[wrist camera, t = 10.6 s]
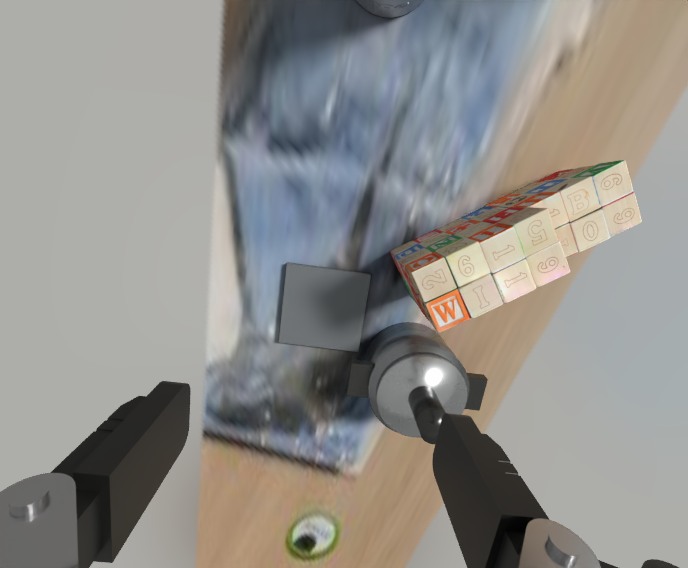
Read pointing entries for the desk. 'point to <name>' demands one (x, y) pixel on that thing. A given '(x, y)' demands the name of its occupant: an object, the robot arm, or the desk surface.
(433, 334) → the pot
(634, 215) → the stack of blocks
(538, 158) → the desk surface
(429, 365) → the lid
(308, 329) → the plate
